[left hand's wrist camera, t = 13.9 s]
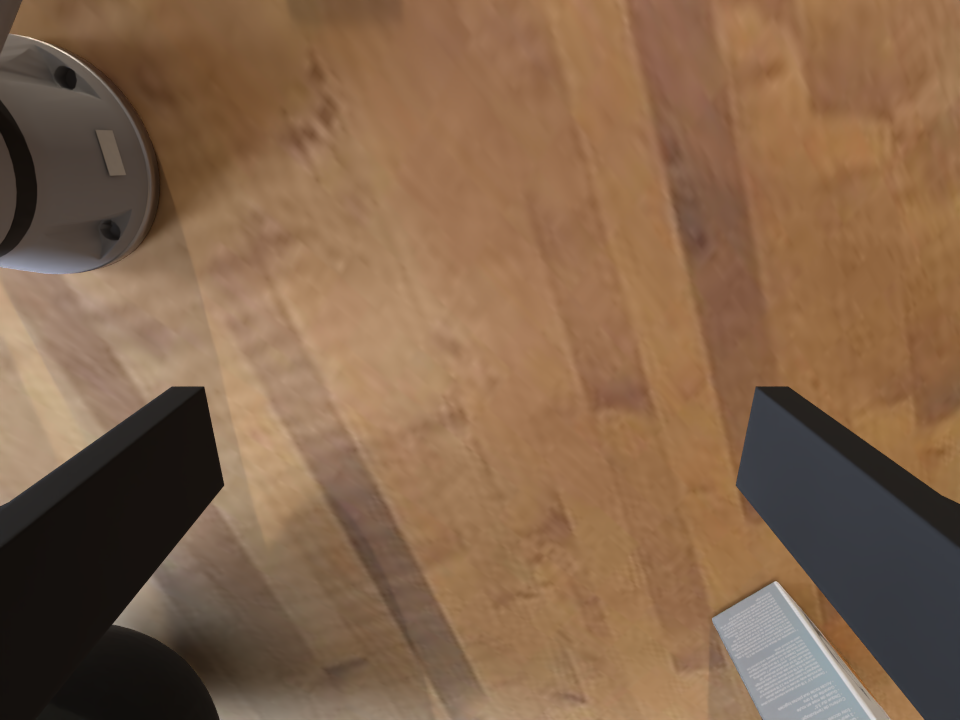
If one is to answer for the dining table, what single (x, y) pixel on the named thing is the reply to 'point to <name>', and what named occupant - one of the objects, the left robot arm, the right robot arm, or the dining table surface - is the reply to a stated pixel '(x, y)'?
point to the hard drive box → (791, 662)
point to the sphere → (131, 683)
